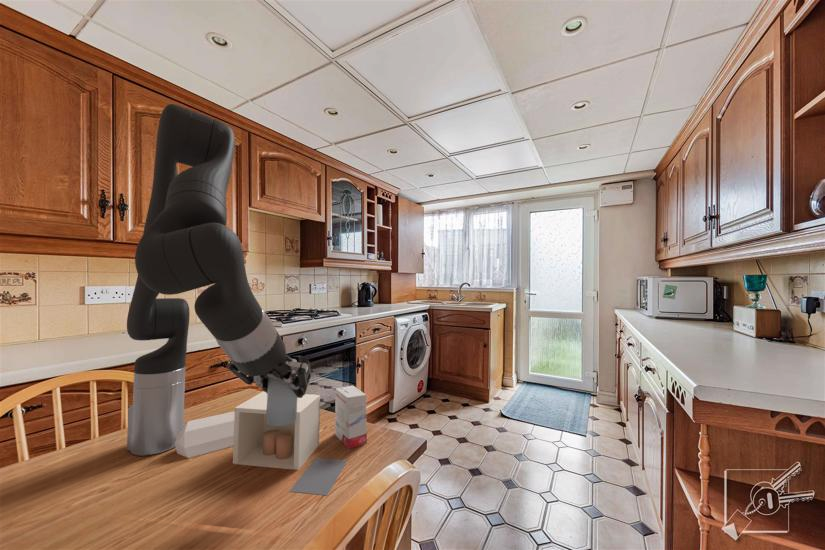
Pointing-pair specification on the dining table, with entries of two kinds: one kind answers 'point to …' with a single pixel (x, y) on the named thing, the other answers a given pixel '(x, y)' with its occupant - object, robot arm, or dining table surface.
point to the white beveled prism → (206, 435)
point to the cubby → (254, 426)
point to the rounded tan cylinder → (283, 445)
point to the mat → (319, 477)
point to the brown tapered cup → (270, 442)
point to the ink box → (350, 416)
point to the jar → (280, 403)
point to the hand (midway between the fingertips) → (287, 391)
